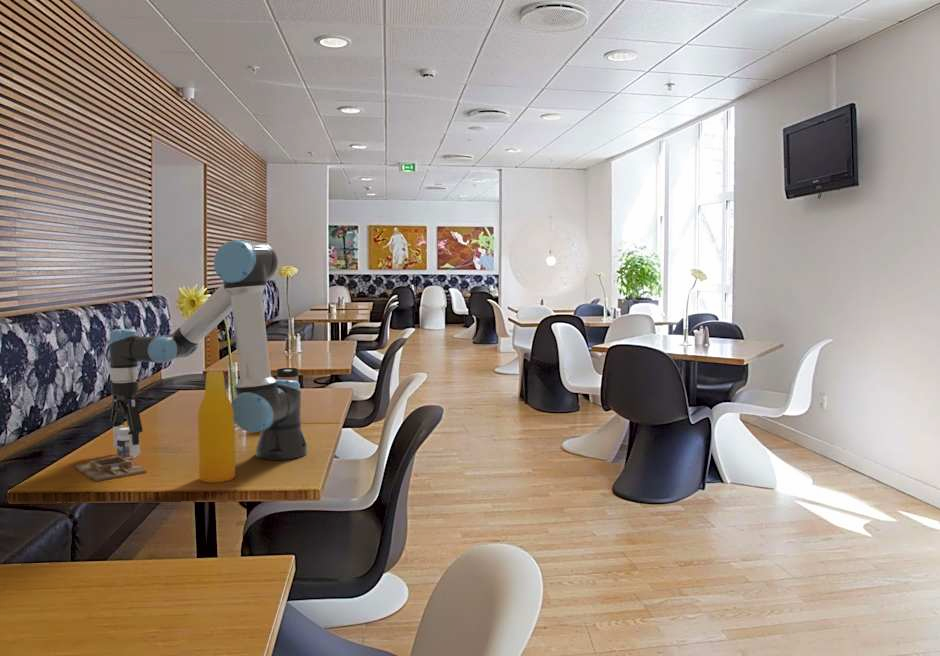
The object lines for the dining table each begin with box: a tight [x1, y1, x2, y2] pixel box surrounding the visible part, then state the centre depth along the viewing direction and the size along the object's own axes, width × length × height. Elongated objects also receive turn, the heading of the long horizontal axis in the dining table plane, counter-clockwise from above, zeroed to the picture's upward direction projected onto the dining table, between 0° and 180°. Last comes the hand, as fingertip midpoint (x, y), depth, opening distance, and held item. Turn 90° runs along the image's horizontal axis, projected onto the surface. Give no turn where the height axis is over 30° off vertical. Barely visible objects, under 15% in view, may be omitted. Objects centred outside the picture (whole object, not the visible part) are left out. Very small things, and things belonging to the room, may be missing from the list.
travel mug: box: [276, 367, 299, 382], centre depth 277 cm, size 8×8×20 cm
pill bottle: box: [116, 426, 138, 460], centre depth 227 cm, size 5×5×9 cm
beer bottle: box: [197, 370, 236, 484], centre depth 204 cm, size 9×9×29 cm
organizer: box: [75, 456, 147, 482], centre depth 213 cm, size 18×13×3 cm
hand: (126, 451), depth 227 cm, fingers open, 13 cm apart
